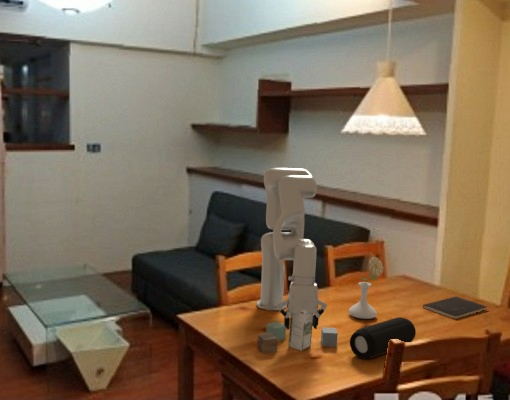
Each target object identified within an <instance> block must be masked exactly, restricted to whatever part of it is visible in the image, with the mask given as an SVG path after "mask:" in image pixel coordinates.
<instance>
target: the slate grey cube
mask: <svg viewBox="0 0 510 400" xmlns="http://www.w3.org/2000/svg"><path fill="white" fill-rule="evenodd" d="M320 342H321V346H322V347H331V348H337V347H338V331H337V328H336V327H321V335H320Z"/></svg>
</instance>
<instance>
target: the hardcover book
mask: <svg viewBox="0 0 510 400" xmlns="http://www.w3.org/2000/svg"><path fill="white" fill-rule="evenodd" d="M486 308H488V306H487V305H484V304H480V303H479V302H478V303H477V302H474V301H471V300H468V299H465V298H462V297H459V296H452V297H449V298H444V299H440V300H436V301H433V302H429V303H428V302H427V303H425V304H423V305H422V309H425V310H428V311H432V312H434V313H437V314H440V315H443V316H445V317H448V318H451V319H453V318H454V320H457V319H460V317H461V318H464V317H467V316H470V315H469V314H471V315H473V314H472V313H474V314H476V312H478V313H480V312H479V311H481V312H483V311H482V310H484V309H486ZM486 310H487V309H486ZM484 311H485V310H484ZM466 315H467V316H466ZM463 316H464V317H463Z"/></svg>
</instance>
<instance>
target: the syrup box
mask: <svg viewBox="0 0 510 400" xmlns="http://www.w3.org/2000/svg"><path fill="white" fill-rule="evenodd" d="M313 315H314V314H308V311H307V310H301V312H300V314H291V315H290V317H289V318H290V327H289V334H288V347H289V348H292V349H295V350H298V351H304V350H306V349H309V348H310V347H311V346H312V336H313V335H312V334H313V333H312V332H313V326H312V324H313Z"/></svg>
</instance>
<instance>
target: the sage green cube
mask: <svg viewBox="0 0 510 400" xmlns="http://www.w3.org/2000/svg"><path fill="white" fill-rule="evenodd" d="M265 326H266V327H265V331H266V332H265V333H272V334H273V335H274V336H276V337H277V338H278V339H277V342H279V341H283V340H285V339H286V337H287V336H286V335H287V333H286V332H287V328H286V326H284V323H282V322H279V321H273V322H269V323H266V324H265Z"/></svg>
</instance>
